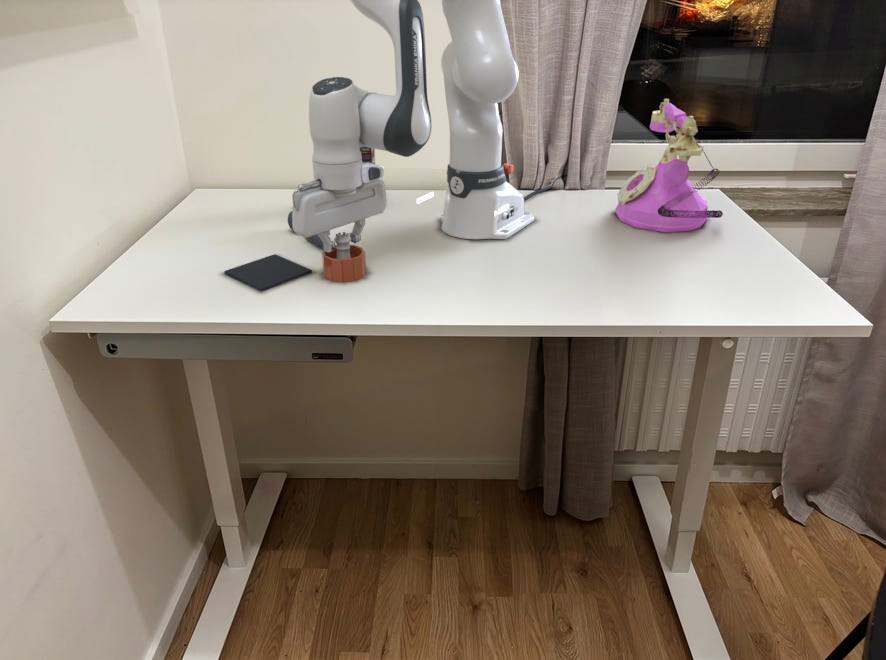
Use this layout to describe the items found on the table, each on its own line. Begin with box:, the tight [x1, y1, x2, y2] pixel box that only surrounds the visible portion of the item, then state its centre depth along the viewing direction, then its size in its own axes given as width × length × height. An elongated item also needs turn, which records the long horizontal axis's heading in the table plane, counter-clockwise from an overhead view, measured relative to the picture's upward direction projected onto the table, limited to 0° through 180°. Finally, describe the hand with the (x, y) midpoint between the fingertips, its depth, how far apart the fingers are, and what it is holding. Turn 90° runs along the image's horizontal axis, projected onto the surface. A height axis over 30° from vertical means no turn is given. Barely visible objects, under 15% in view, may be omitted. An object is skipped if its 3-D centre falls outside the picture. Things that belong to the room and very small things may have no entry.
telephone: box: [615, 98, 724, 233], centre depth 162 cm, size 36×22×25 cm, turn 178°
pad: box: [224, 253, 313, 292], centre depth 145 cm, size 12×12×1 cm
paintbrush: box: [287, 210, 331, 249], centre depth 160 cm, size 20×5×5 cm, turn 38°
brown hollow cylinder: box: [321, 244, 367, 283], centre depth 143 cm, size 8×8×4 cm
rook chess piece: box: [333, 231, 351, 259], centre depth 142 cm, size 4×4×8 cm
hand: (342, 246), depth 142 cm, fingers open, 5 cm apart
